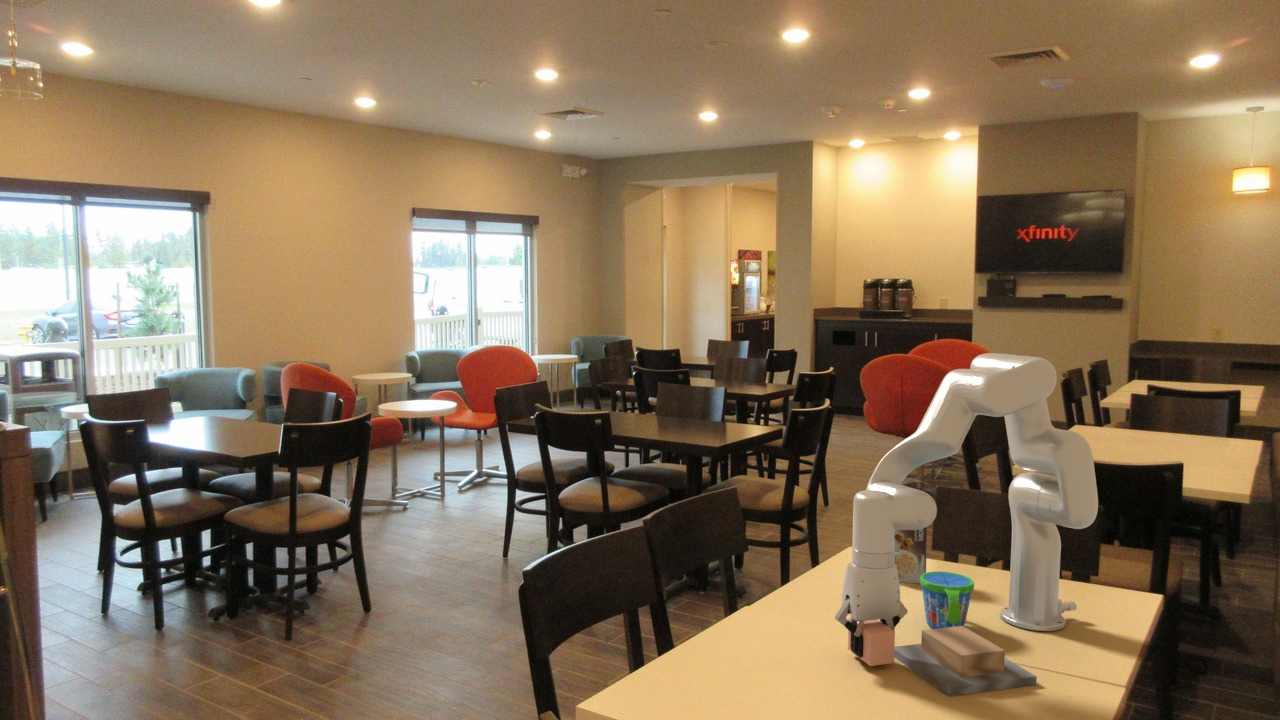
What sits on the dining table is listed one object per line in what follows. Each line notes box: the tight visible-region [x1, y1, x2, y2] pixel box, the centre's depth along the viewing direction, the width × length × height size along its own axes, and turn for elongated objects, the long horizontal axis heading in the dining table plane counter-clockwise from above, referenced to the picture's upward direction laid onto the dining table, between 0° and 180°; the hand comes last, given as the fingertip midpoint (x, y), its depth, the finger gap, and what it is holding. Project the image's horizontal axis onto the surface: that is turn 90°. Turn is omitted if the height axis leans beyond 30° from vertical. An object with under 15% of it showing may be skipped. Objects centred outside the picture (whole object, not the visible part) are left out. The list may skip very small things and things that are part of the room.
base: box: [894, 626, 1037, 697], centre depth 163 cm, size 18×18×6 cm
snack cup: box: [919, 571, 975, 629], centre depth 184 cm, size 16×10×10 cm
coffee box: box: [894, 526, 928, 584], centre depth 214 cm, size 9×6×16 cm
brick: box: [847, 617, 896, 667], centre depth 165 cm, size 5×8×6 cm, turn 16°
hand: (870, 651), depth 166 cm, fingers closed on brick, 5 cm apart
